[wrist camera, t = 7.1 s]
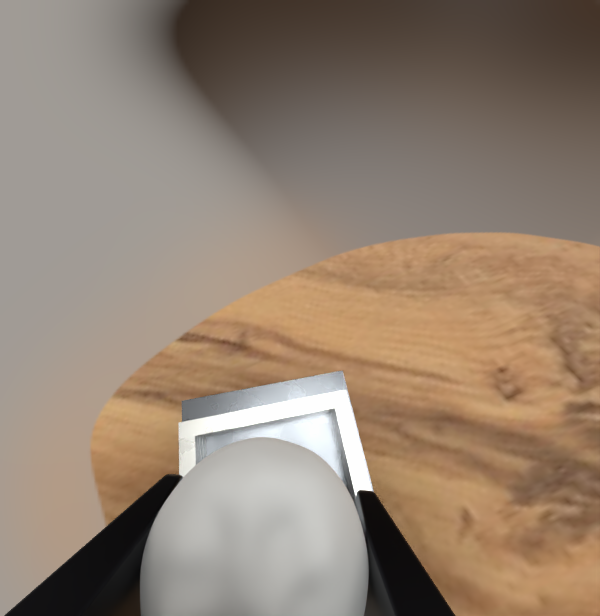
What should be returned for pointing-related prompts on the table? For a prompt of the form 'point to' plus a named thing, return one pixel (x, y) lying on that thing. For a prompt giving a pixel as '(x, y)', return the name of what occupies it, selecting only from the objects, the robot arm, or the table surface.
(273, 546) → the milkshake
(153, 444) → the table surface
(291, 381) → the grey open rectangular box
